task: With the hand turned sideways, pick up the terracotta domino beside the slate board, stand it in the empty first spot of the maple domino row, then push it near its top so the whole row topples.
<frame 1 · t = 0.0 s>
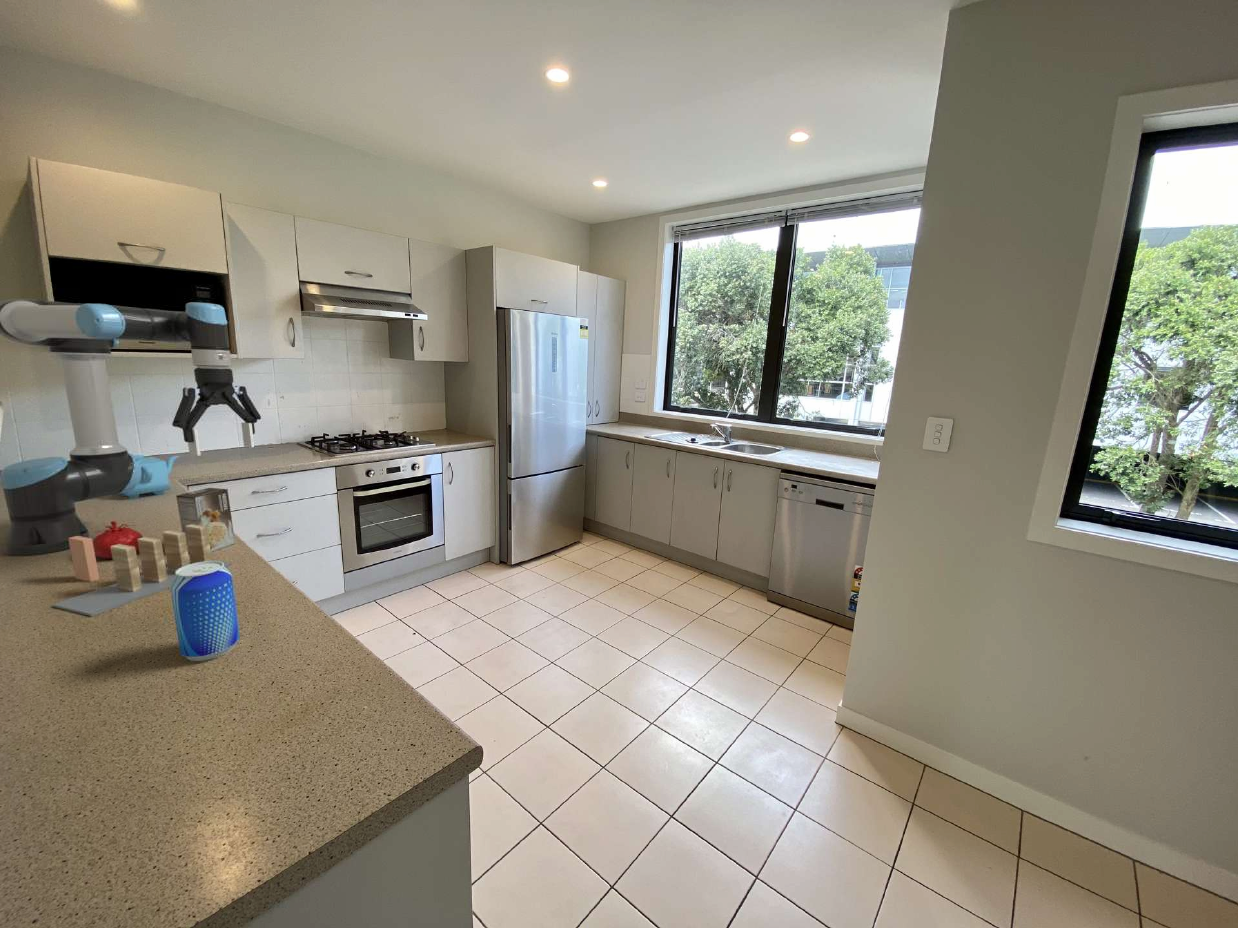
hand: (223, 450, 129), 28 cm above the worktop, tool pointing down, fingers open, 13 cm apart
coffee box: (210, 548, 137), on the worktop
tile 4: (179, 571, 121), resting on slate board
tile 5: (201, 563, 126), resting on slate board
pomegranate: (120, 555, 131), on the worktop
teakettle: (142, 494, 186), on the worktop
tile 2: (130, 588, 111), resting on slate board
slate board: (151, 583, 115), on the worktop
tile 3: (155, 579, 116), resting on slate board
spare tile: (87, 578, 117), on the worktop
beer can: (211, 651, 91), on the worktop
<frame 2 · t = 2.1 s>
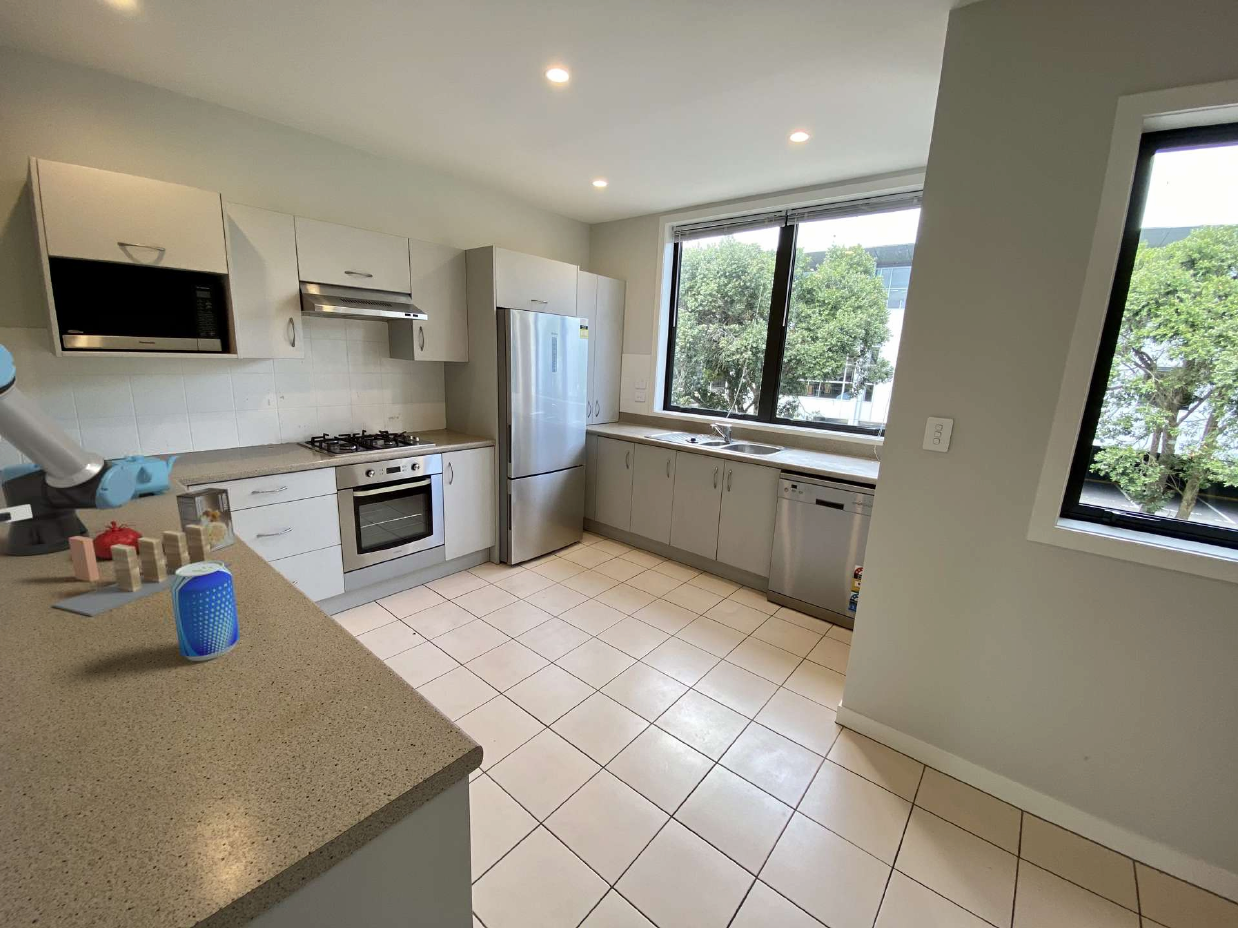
hand: (8, 507, 103), 20 cm above the worktop, tool horizontal, fingers open, 13 cm apart
nothing on the worktop moved.
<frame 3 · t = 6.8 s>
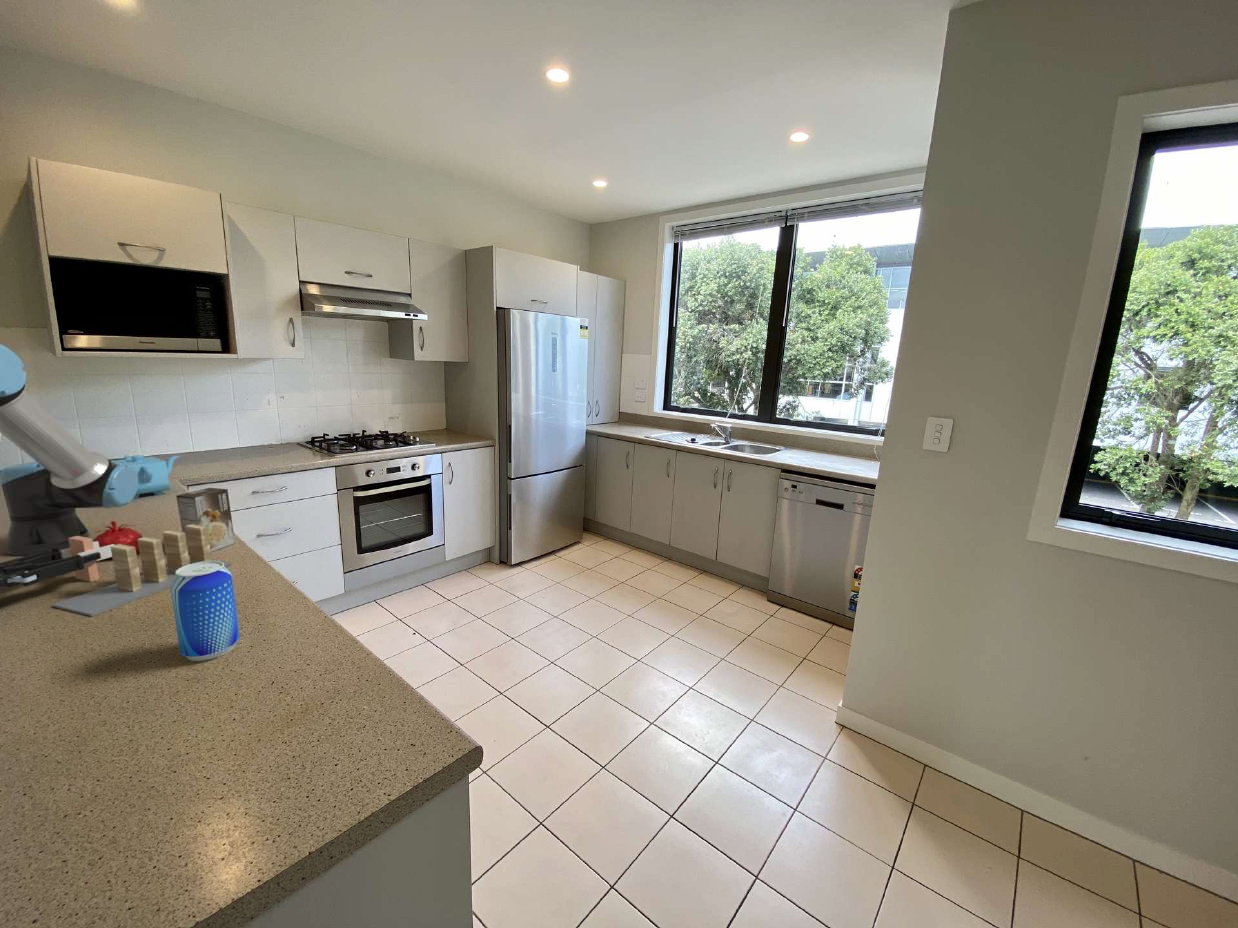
hand: (106, 548, 119), 6 cm above the worktop, tool horizontal, fingers closed on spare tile, 5 cm apart
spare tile: (87, 578, 117), on the worktop, touching gripper
everything else where it was.
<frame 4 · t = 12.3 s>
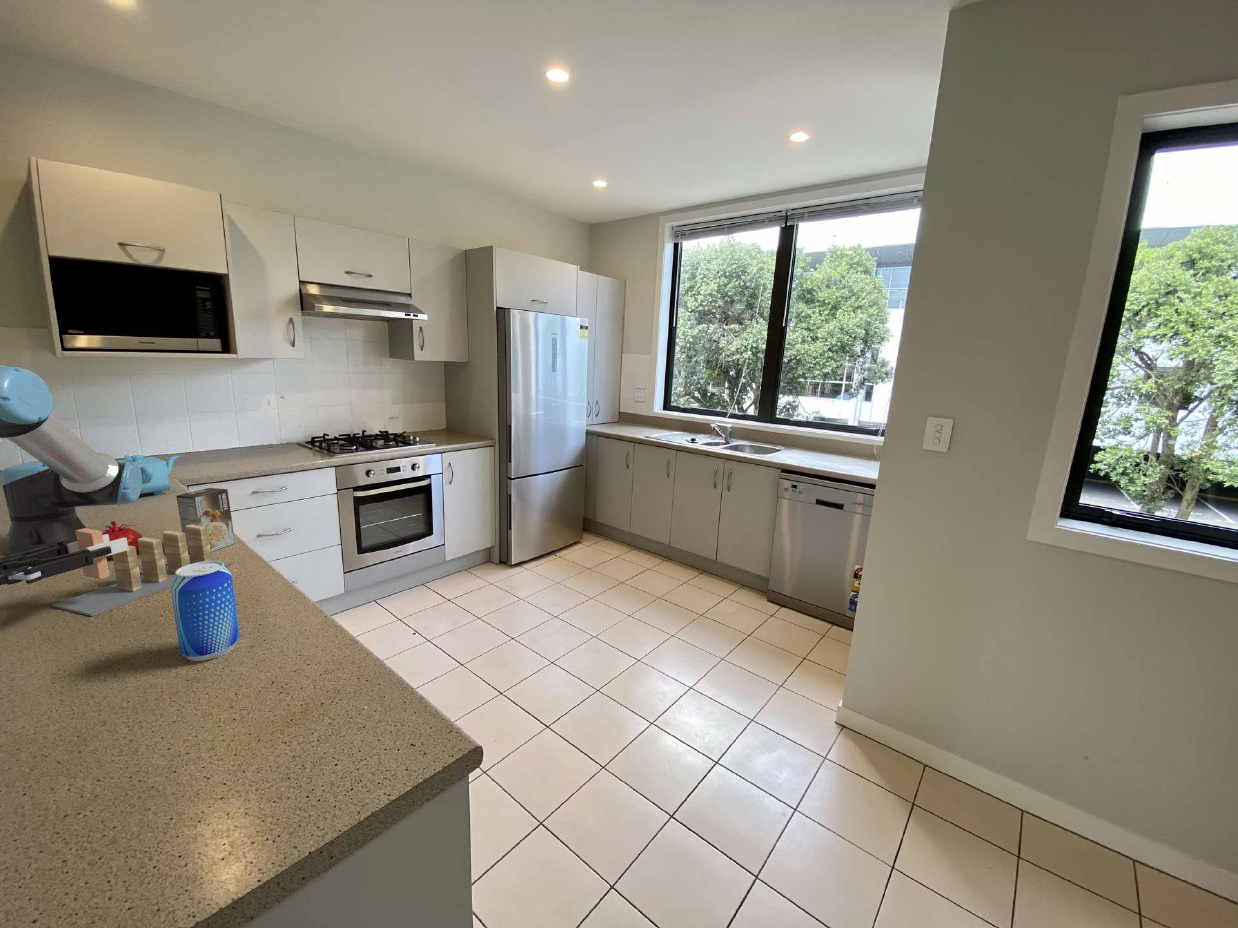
hand: (116, 541, 108), 12 cm above the worktop, tool horizontal, fingers closed on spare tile, 5 cm apart
tile 2: (130, 588, 111), point 1 cm above the worktop, touching gripper, slate board
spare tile: (96, 575, 105), point 6 cm above the worktop, touching gripper
everything else where it was.
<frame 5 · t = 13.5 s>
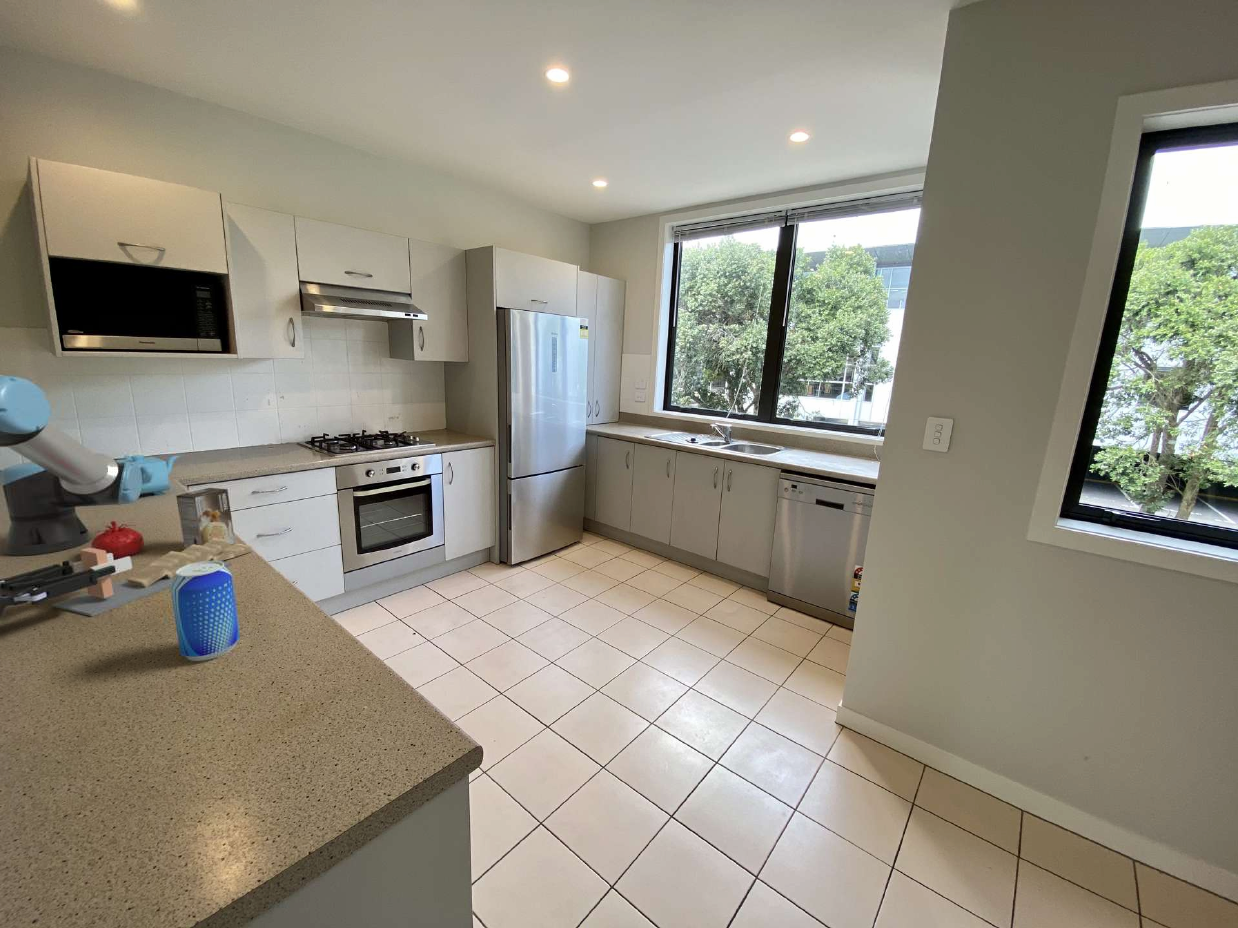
hand: (120, 560, 109), 7 cm above the worktop, tool horizontal, fingers closed on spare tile, 5 cm apart
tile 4: (183, 567, 122), point 1 cm above the worktop, tilted 71°, touching slate board, tile 3, tile 5
tile 5: (205, 559, 126), point 1 cm above the worktop, tilted 93°, touching slate board, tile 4
tile 2: (136, 583, 112), point 1 cm above the worktop, tilted 71°, touching slate board, tile 3
tile 3: (160, 574, 117), point 1 cm above the worktop, tilted 71°, touching slate board, tile 2, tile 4
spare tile: (101, 594, 106), point 1 cm above the worktop, touching gripper
everything else where it was.
when the fingers open (7 cm above the worktop, at t = 13.6 s): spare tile stays where it is, resting on slate board.
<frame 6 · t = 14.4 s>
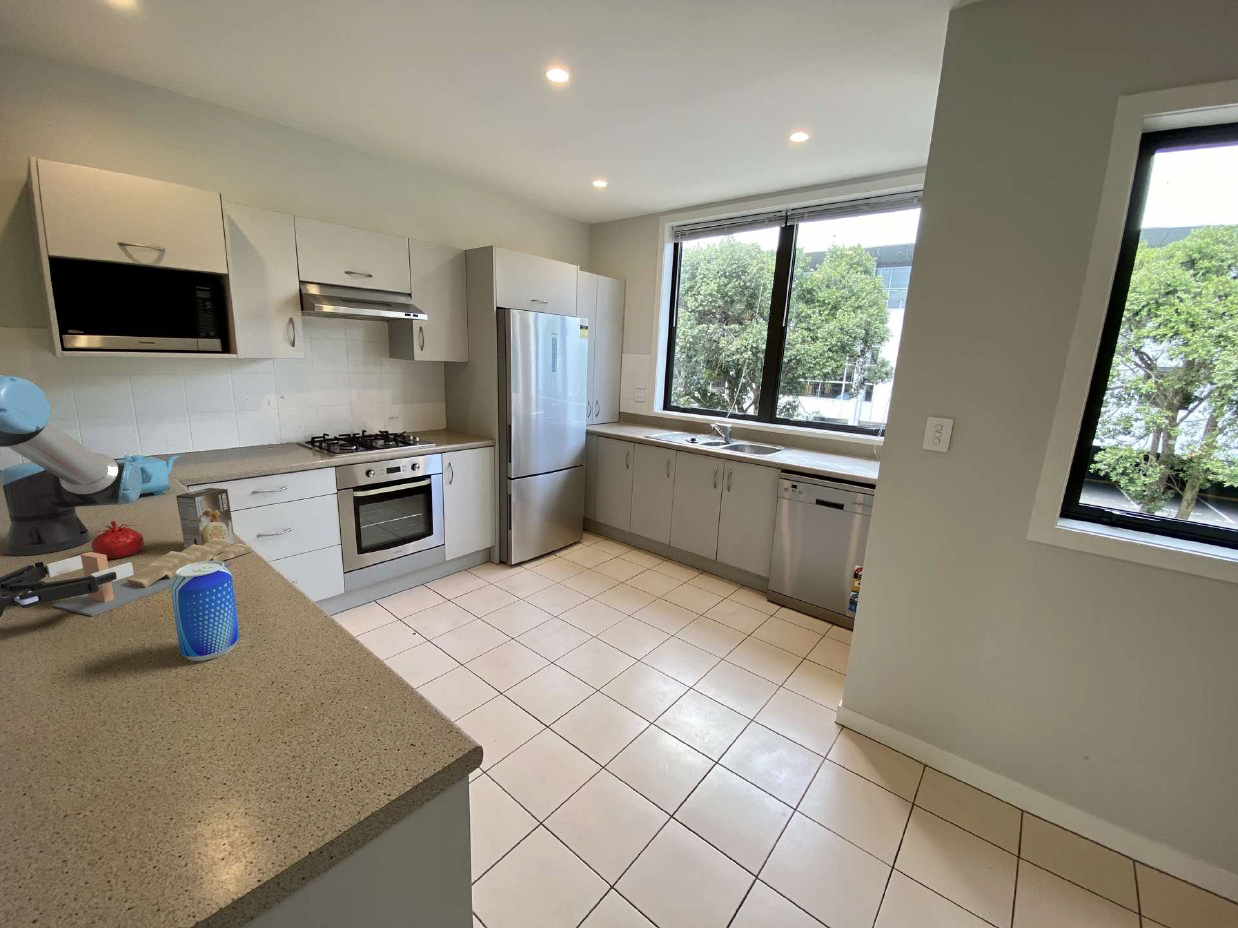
hand: (109, 563, 107), 7 cm above the worktop, tool horizontal, fingers open, 13 cm apart
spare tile: (101, 598, 107), resting on slate board
everything else where it was.
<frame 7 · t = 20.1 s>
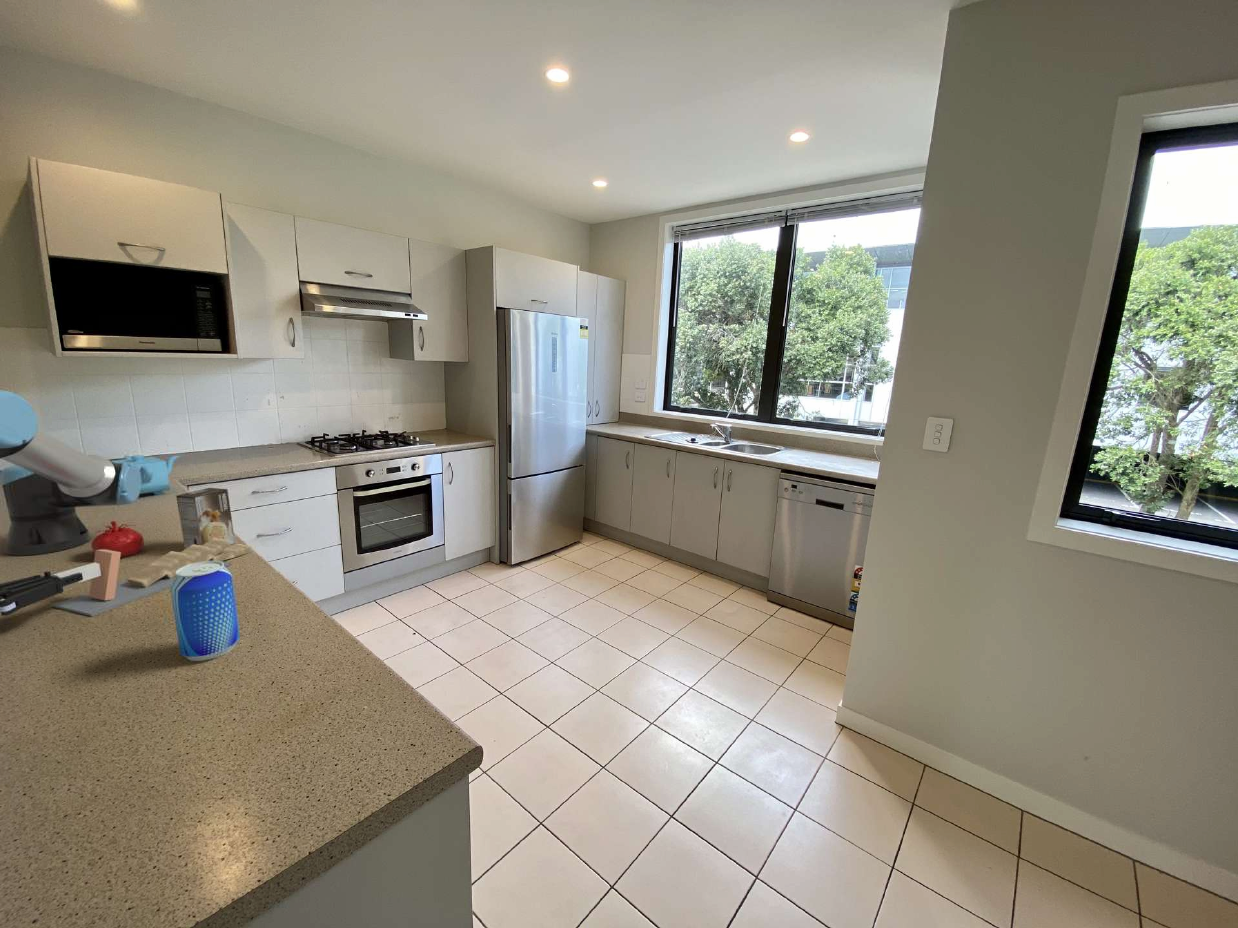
hand: (97, 569, 105), 7 cm above the worktop, tool horizontal, fingers closed
tile 5: (205, 558, 126), point 1 cm above the worktop, tilted 94°, touching slate board, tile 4
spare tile: (101, 597, 107), point 1 cm above the worktop, tilted 14°, touching slate board
everything else where it was.
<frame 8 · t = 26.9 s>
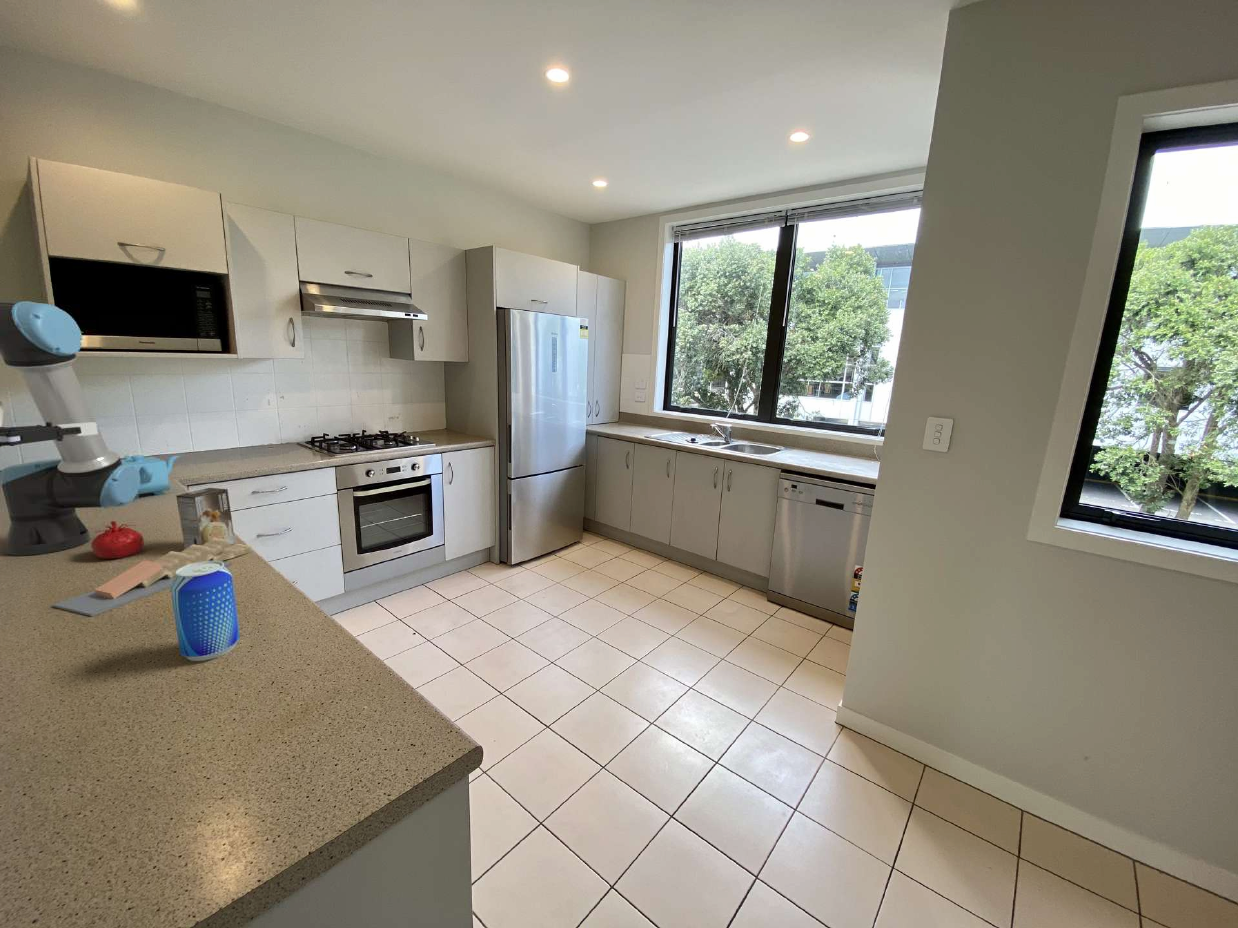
hand: (94, 428, 115), 35 cm above the worktop, tool horizontal, fingers closed
tile 2: (136, 583, 112), point 1 cm above the worktop, tilted 71°, touching slate board, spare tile, tile 3
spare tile: (104, 594, 107), point 1 cm above the worktop, tilted 72°, touching slate board, tile 2
everything else where it was.
at the end: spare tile inside the target area (0.0 cm from its centre), point 1.3 cm above the worktop; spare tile tilted 72°; tile 5 tilted 94° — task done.
